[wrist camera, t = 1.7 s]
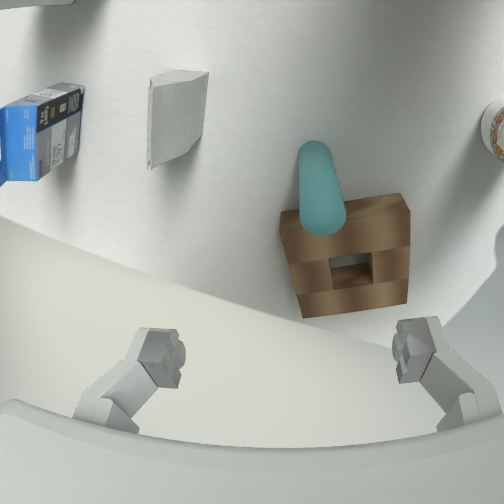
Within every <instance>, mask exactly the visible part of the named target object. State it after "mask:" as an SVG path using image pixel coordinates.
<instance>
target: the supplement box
mask: <svg viewBox="0 0 504 504" xmlns="http://www.w3.org/2000/svg"><path fill="white" fill-rule="evenodd" d="M73 1H74V0H0V10H3V9H10V8H19V7H29V6H42V5H63V4H71V3H72V2H73Z"/></svg>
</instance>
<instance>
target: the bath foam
mask: <svg viewBox="0 0 504 504" xmlns="http://www.w3.org/2000/svg"><path fill="white" fill-rule="evenodd" d="M481 135H482V139H483V142H484V144H485V146H486V147H487V149H488V150H489V151H490V152H491V153H493V154H494V155H495V156H496V157H497V158H498V159H500V160H501V161H502V162H503V163H504V100H497V101H495V102H493V103H492V104H490V105H489V106H488V108H487V109H486V111H485V112H484V114H483V117H482V121H481Z"/></svg>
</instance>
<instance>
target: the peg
mask: <svg viewBox="0 0 504 504" xmlns="http://www.w3.org/2000/svg"><path fill="white" fill-rule="evenodd" d="M298 168H299V209H300V222H301V224H302V226H303V228H304V229H305V230H306V231H308V232H309V233H311V234H314V235H317V236H327V235H331V234H334V233H335V232H337V231H338V230H340V229H341V228H342V226H343V225H344V223H345V220H346V211H345V207H344V203H343V199H342V195H341V191H340V187H339V183H338V179H337V176H336V172H335V169H334V165H333V161H332V158H331V154H330V151H329V149H328V148H327V146H326V145H324V144H323V143H321V142H318V141H311V142H307V143H305V144H304V145H303V146H302V147H301V148H300V150H299V153H298Z"/></svg>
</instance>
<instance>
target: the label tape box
mask: <svg viewBox="0 0 504 504" xmlns="http://www.w3.org/2000/svg"><path fill="white" fill-rule="evenodd" d="M83 91H84V86H80V85H74V84H68V83H59V84H56V85H54V86H51V87H48V88H46V89H43V90H41V91H38V92H36V93H33V94H31V95H29V96H26V97H24V98H22V99H19V100H17V101H14V102H12V103H10V104H7V105H6V106H4V107H3V108H1V109H0V147H1V161H0V186H1V185H3V184H4V183H5V182H6V181H38V180H39V179H41V178H42V177H43V176H45V175H46V174H47V173H49V172H50V171H51V170H53V169H54V168H55V167H57V166H58V165H59V164H61V163H62V162H64V161H65V160H67V159H68V158H69V157H71V156H72V155H74V154H75V153H77V152H78V145H79V130H80V117H81V108H82V99H83Z"/></svg>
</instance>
